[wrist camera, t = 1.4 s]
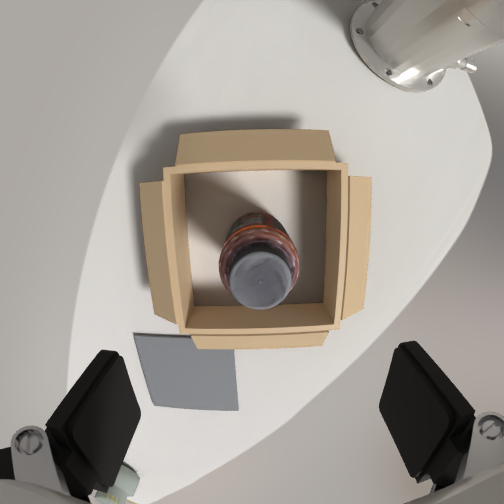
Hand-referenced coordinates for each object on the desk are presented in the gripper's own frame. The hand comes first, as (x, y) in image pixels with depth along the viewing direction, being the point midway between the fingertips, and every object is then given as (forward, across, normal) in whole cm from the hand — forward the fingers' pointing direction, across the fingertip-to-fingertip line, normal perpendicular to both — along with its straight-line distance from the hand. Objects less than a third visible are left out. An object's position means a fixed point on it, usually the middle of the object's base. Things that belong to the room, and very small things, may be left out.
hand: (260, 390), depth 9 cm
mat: (+21, +9, +17) cm, 28 cm away
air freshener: (+22, +29, +47) cm, 59 cm away
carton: (+21, 0, 0) cm, 21 cm away
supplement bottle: (+21, 0, 0) cm, 21 cm away
